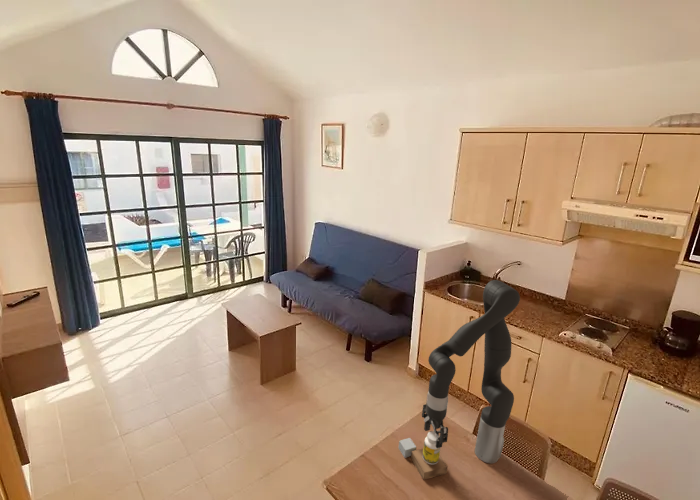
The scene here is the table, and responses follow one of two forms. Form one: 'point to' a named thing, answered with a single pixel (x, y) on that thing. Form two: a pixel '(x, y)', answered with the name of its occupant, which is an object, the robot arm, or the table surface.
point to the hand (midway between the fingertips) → (432, 438)
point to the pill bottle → (431, 449)
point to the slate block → (406, 447)
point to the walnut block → (428, 465)
